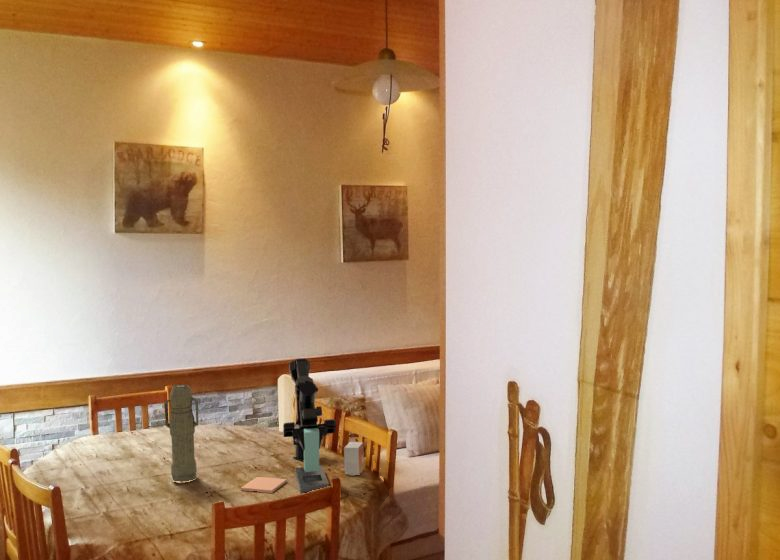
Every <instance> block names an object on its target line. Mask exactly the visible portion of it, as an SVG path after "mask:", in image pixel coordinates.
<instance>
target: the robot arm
mask: <svg viewBox="0 0 780 560" xmlns="http://www.w3.org/2000/svg"><path fill="white" fill-rule="evenodd" d="M288 371H289V374H290V378H291V380H292V381H293V382H294V393H295V394H294V395H295V399H296V416H297V420H296V422H293V421H291V422H283V425H282V435H283V437H284V438H292V445H293V446H295V456H292V459H293V460H294V459H295V460H297V461H300V462H301V461H302V462H304V450H305V446H304V429H311V428H318V430H319V450H320V449H321V446H322V442H323V439H324V437H325V436H327V435H330V434H335V433H336V428H337V421H336V420H335V419H334V418H332V419H331V418H329V419H324V420H323V423H318V421H319V420H318V419H319V417H321V416H323V410H322V409H323V408H322V406H316V404H315V403H316V402H315V401H316V395H317V393H318V392H319V387H318V386H317V384H316V383H314V380H313V378H312V377H310V376H309V375H310V372H311V361H310V360H308V358H295V359H294V360H293V361H290V362H289V365H288Z"/></svg>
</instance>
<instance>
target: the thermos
mask: <svg viewBox="0 0 780 560" xmlns="http://www.w3.org/2000/svg"><path fill="white" fill-rule="evenodd" d="M169 395H170V397H169V398H168V399H167V400H166V401H165V402H164V405H163V407H164V418H165V427H167V428H168V429H169V435H170V437H171V457H172V463H171V466H170V467H171V468H170V472H171V480H172V479H173V480H174V481H181V482H182V481H189V480H193V479H195V478H196V479H197V471H198V470H197V460H196V459H195V440H194V439H195V431H196V430H195V429H196V427H197V426H199V404H198V403H199V400H198V399H197V398H196V397H193V394H192V390H191V388H190V386H189V385H188V384H177V385H174V386H172V388H171V391H170V394H169ZM193 401H194V403H195V415H194V413H193V409H192V407H193ZM169 403H170V409H171V410H170V417H169ZM195 420H196V421H195Z"/></svg>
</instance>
